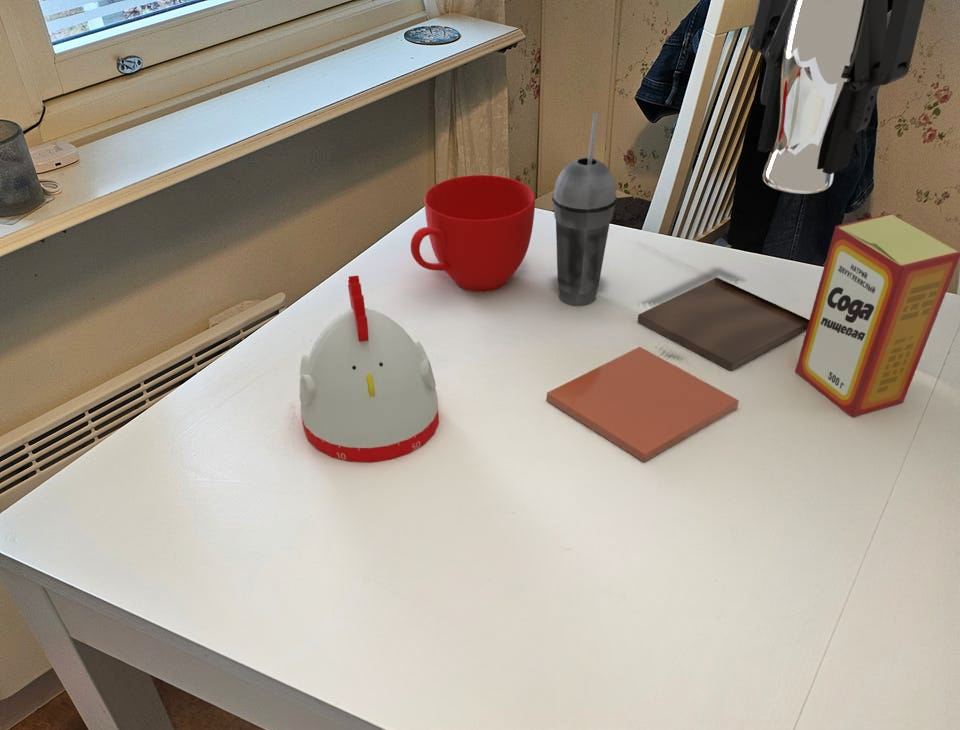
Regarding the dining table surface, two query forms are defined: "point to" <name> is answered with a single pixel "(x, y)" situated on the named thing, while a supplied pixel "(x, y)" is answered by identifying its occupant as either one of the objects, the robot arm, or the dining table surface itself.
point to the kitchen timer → (367, 387)
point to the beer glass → (812, 90)
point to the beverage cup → (582, 224)
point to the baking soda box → (874, 312)
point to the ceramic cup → (477, 229)
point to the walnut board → (724, 323)
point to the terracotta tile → (642, 403)
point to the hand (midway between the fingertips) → (802, 157)
